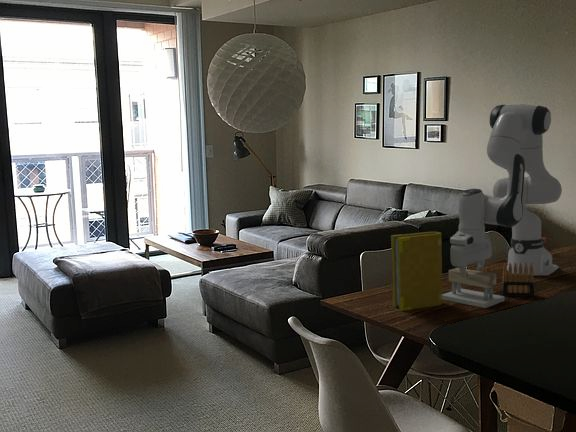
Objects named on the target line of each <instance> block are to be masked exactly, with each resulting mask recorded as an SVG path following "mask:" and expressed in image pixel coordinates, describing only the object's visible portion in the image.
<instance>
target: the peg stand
mask: <svg viewBox="0 0 576 432" xmlns="http://www.w3.org/2000/svg"><path fill="white" fill-rule="evenodd" d="M505 297H506V296H503V295H499V294H494V286H493V287H490V288H484V287H483V291H477V290H476V291H475V290H472V289H466V288H462V283H456V282H451V291H449V292H446V293H442V301H449V302H452V303H458V304H463V305H468V306H472V307H477V308H482V309H487V308H489V307H492V306H495V305H497V304H499V303H502V302H505Z"/></svg>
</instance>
